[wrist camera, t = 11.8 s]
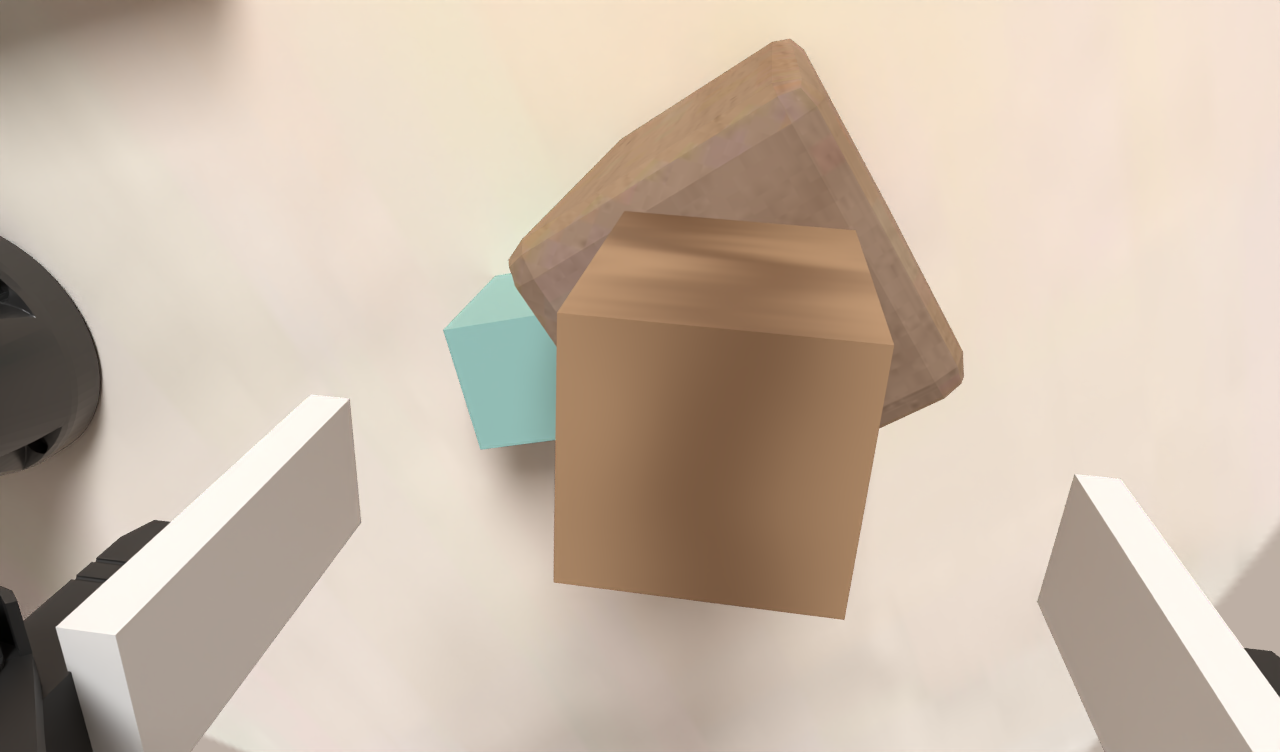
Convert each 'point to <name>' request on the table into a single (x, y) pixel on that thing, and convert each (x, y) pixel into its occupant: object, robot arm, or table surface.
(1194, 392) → the table surface
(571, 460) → the walnut block
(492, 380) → the teal block
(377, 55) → the table surface
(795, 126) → the block
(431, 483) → the table surface
